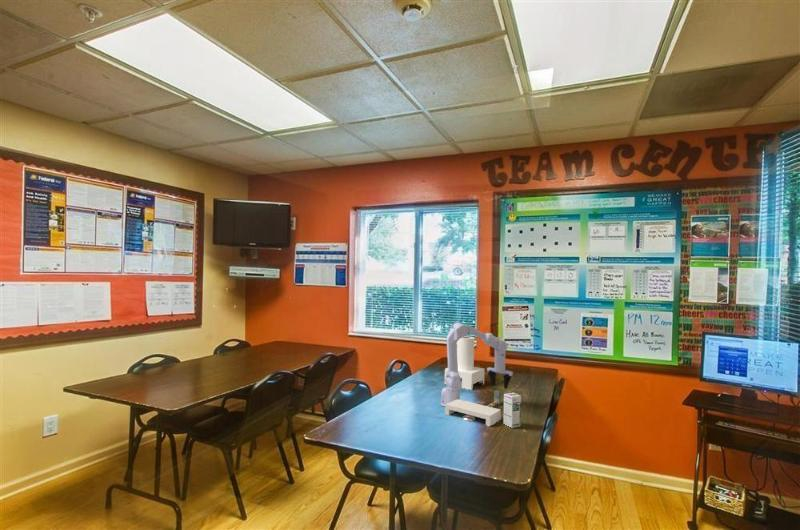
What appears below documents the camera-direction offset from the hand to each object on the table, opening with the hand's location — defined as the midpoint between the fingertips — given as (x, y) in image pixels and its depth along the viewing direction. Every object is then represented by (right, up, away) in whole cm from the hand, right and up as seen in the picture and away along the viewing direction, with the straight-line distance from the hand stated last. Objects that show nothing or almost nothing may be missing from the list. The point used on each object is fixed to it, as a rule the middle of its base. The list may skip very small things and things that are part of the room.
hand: (499, 386), depth 223 cm
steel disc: (-21, -9, -26) cm, 34 cm away
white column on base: (-13, -10, +39) cm, 42 cm away
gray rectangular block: (-7, -9, -7) cm, 13 cm away
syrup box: (-2, -9, -32) cm, 33 cm away
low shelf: (-19, -8, -23) cm, 31 cm away
